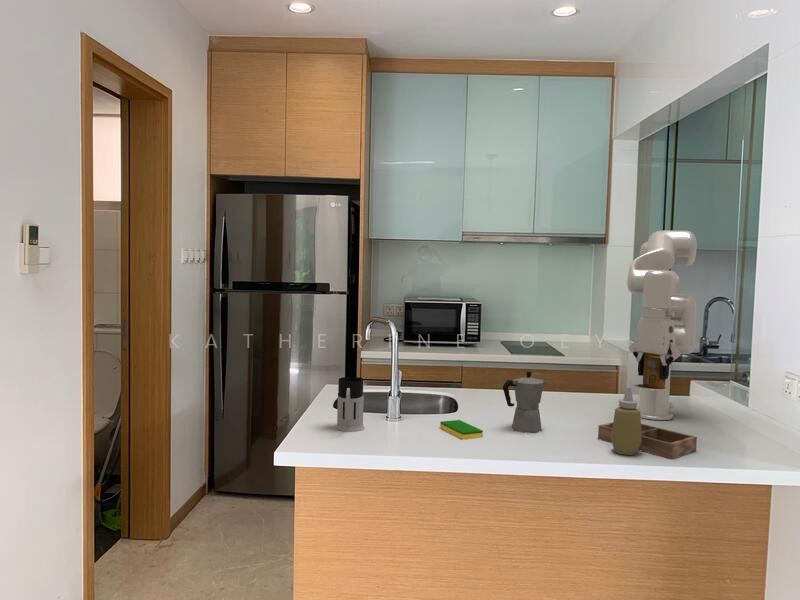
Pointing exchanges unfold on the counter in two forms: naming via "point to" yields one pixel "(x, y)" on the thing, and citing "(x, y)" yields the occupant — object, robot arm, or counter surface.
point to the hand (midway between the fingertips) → (652, 376)
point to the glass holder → (350, 404)
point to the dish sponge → (461, 429)
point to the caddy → (657, 440)
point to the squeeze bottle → (626, 426)
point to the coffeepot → (526, 402)
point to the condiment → (652, 373)
